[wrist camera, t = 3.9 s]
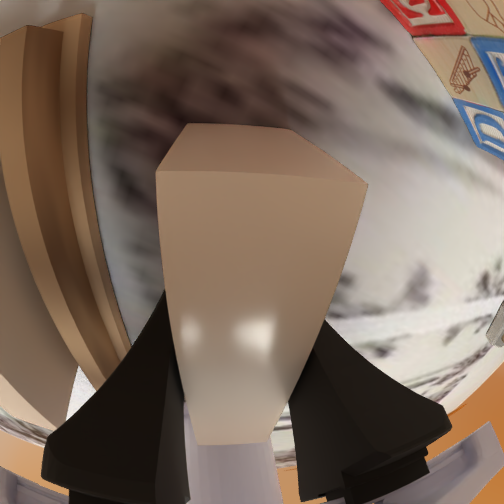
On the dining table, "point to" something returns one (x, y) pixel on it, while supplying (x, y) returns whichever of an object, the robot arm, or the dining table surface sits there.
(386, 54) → the dining table surface
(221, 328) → the beige rectangular block
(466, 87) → the stack of blocks
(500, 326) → the tankard
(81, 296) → the rack
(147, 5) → the dining table surface
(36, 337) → the cream long block
